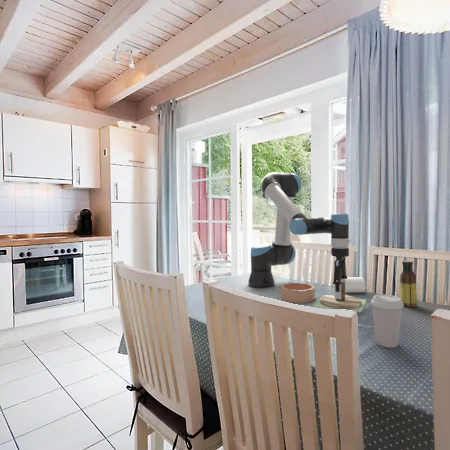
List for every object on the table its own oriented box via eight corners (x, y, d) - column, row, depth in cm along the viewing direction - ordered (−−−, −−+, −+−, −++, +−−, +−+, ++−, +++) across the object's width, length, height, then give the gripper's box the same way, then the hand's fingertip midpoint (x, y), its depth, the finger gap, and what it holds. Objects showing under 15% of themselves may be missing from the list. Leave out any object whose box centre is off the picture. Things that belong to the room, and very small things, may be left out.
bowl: (287, 292, 166) (287, 281, 166) (318, 296, 158) (318, 284, 158) (276, 300, 153) (275, 288, 152) (309, 305, 144) (309, 292, 144)
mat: (323, 295, 159) (323, 294, 159) (366, 300, 149) (366, 299, 149) (312, 307, 142) (312, 305, 142) (361, 313, 132) (361, 312, 132)
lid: (324, 295, 158) (324, 276, 157) (364, 299, 149) (364, 280, 148) (315, 305, 142) (315, 285, 142) (358, 311, 133) (358, 289, 133)
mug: (365, 294, 159) (365, 279, 159) (345, 295, 160) (345, 279, 159) (356, 288, 171) (356, 274, 171) (337, 289, 172) (337, 274, 171)
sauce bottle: (415, 304, 142) (415, 260, 141) (418, 308, 136) (419, 262, 135) (398, 303, 144) (399, 259, 143) (401, 307, 139) (401, 262, 137)
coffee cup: (364, 338, 107) (364, 294, 106) (391, 336, 108) (391, 293, 107) (381, 350, 98) (381, 302, 97) (410, 348, 99) (410, 301, 98)
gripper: (344, 251, 132) (344, 303, 133) (352, 244, 152) (352, 290, 153) (325, 250, 136) (326, 301, 137) (336, 244, 156) (336, 288, 157)
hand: (340, 295), depth 145 cm, fingers open, 10 cm apart
